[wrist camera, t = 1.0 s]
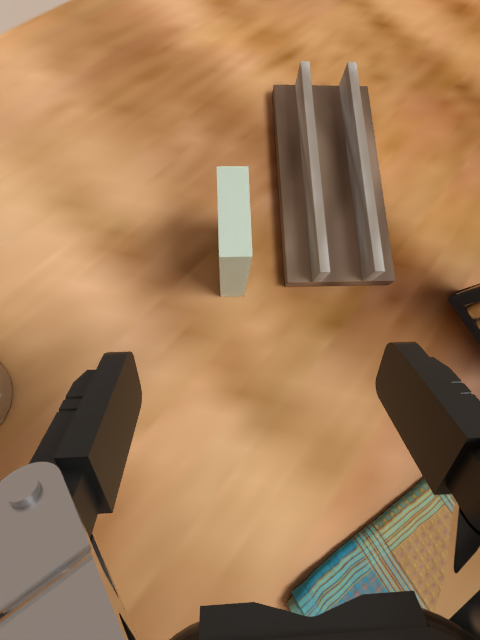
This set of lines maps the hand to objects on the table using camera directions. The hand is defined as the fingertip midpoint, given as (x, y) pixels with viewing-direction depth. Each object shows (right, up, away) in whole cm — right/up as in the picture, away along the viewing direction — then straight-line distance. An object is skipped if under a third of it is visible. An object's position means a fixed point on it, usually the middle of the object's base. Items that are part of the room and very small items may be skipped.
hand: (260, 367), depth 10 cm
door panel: (-2, +8, +26) cm, 27 cm away
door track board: (+10, +18, +29) cm, 35 cm away
